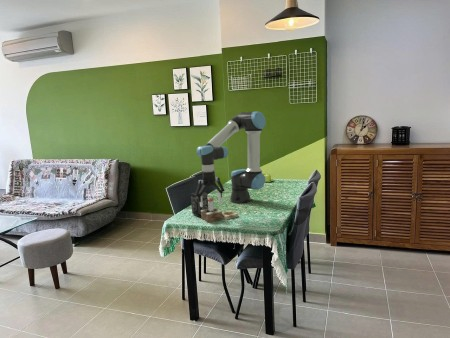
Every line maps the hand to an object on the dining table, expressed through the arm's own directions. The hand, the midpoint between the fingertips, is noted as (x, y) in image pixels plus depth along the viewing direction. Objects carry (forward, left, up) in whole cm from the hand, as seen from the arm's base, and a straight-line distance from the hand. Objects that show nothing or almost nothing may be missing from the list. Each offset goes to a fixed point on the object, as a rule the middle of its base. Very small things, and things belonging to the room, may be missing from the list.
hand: (210, 204), depth 212 cm
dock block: (0, 0, -9) cm, 9 cm away
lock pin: (0, 0, -9) cm, 9 cm away
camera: (+2, -12, -10) cm, 15 cm away
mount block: (-11, +2, -9) cm, 15 cm away
